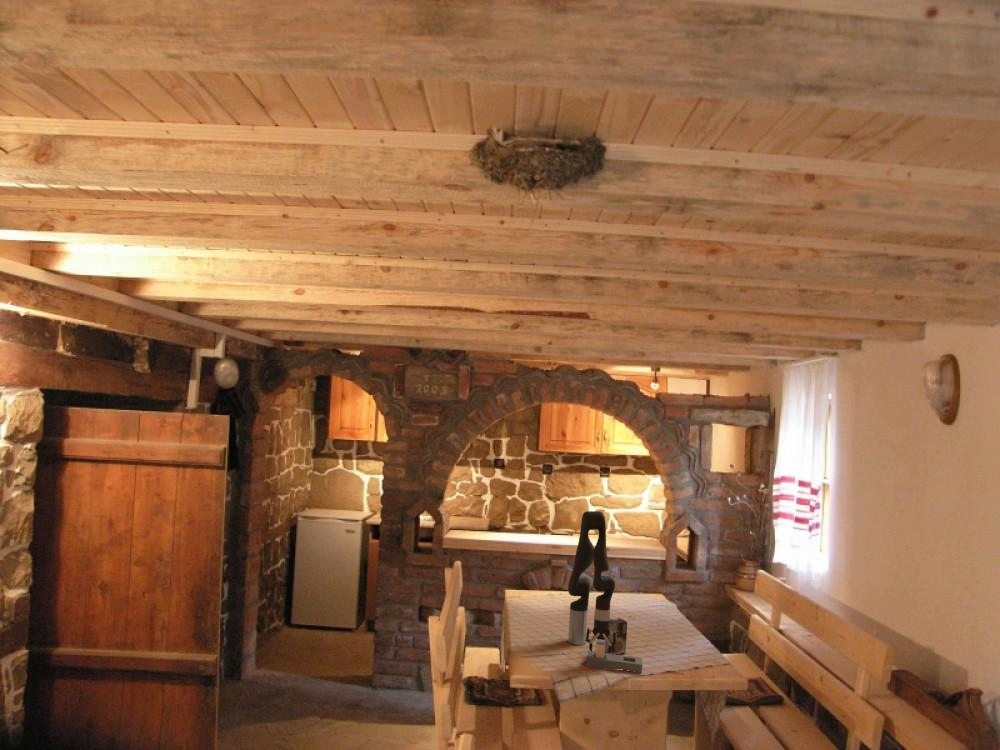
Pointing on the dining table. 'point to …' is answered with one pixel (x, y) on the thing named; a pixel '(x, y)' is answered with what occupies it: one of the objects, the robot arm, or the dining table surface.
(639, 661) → the jack board
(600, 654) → the plug
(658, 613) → the dining table surface
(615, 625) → the coffee box
